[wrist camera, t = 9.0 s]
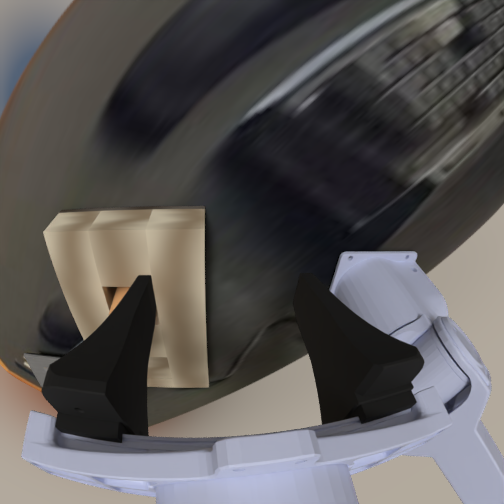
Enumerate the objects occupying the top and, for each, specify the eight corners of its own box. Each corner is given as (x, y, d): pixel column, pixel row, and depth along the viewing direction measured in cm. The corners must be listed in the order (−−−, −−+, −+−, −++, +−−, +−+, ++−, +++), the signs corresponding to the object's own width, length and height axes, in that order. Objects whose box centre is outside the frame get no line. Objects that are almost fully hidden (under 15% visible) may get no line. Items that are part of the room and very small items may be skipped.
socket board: (205, 205, 21) (204, 229, 18) (207, 362, 32) (208, 387, 30) (61, 210, 19) (43, 232, 16) (111, 359, 30) (107, 383, 28)
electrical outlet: (119, 350, 31) (119, 366, 29) (126, 390, 37) (127, 403, 35) (27, 342, 27) (23, 357, 25) (48, 383, 32) (47, 396, 30)
